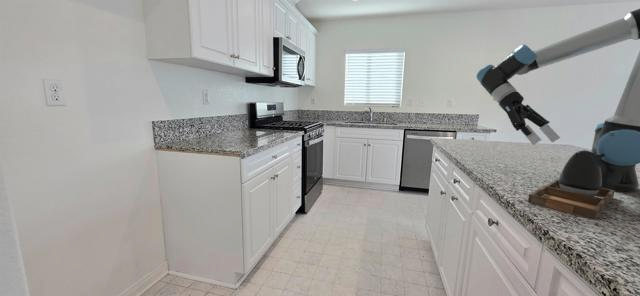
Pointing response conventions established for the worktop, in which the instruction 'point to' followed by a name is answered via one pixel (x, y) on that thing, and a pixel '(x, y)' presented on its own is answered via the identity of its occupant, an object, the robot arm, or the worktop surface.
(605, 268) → the worktop surface
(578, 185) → the dark grey egg shape
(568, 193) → the rack
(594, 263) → the worktop surface
